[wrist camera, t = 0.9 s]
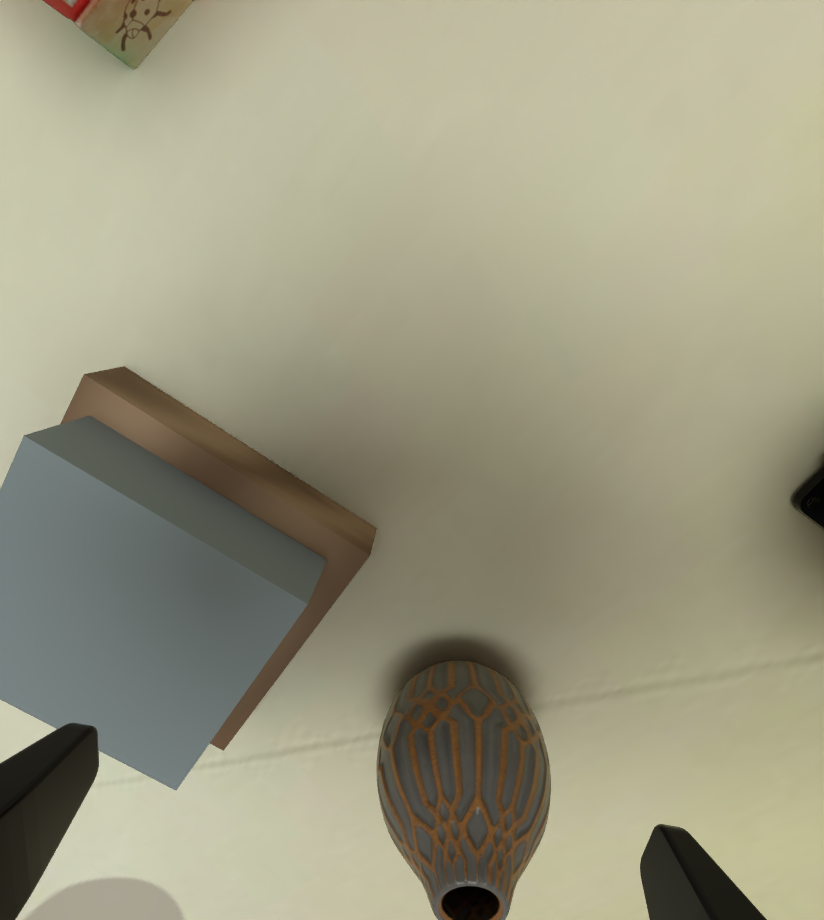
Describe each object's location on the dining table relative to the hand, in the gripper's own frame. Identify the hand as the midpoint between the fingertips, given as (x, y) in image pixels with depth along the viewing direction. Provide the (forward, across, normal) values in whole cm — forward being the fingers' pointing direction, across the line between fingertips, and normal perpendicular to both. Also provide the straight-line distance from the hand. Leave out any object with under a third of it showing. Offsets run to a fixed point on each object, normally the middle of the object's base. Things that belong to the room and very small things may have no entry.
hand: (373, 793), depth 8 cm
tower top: (+11, +10, +5) cm, 15 cm away
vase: (+14, -4, +10) cm, 17 cm away
